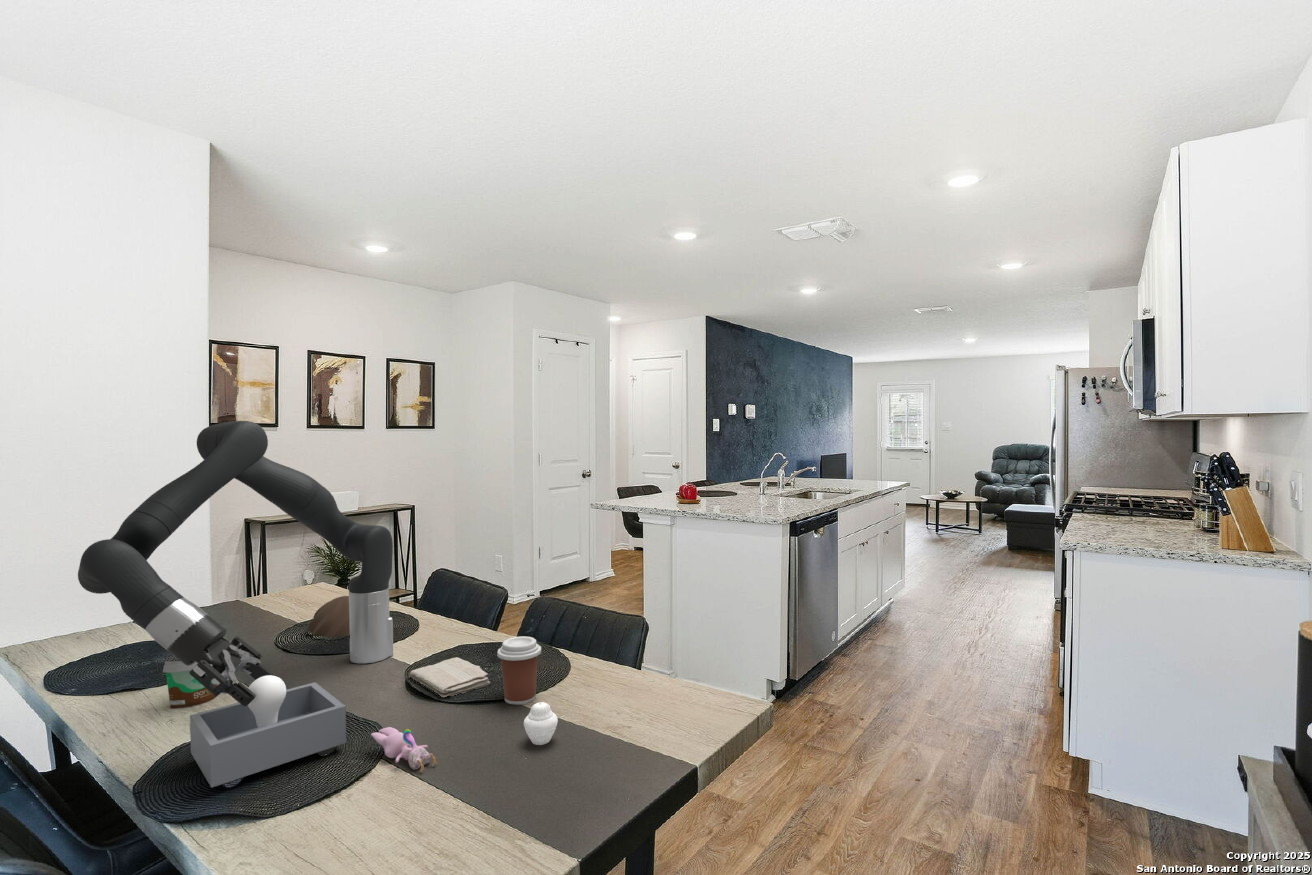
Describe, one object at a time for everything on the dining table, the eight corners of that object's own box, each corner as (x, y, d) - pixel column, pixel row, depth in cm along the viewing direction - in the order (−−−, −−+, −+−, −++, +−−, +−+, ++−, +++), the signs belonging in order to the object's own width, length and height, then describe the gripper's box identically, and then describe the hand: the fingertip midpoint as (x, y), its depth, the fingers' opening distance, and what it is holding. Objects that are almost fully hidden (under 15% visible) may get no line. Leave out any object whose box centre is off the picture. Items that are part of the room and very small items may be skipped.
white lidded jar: (542, 752, 113) (541, 712, 113) (516, 743, 116) (515, 705, 116) (565, 737, 118) (564, 699, 118) (539, 730, 122) (539, 693, 122)
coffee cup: (550, 693, 139) (549, 637, 139) (525, 710, 130) (524, 650, 130) (516, 687, 143) (515, 632, 142) (488, 702, 134) (487, 645, 134)
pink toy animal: (443, 769, 111) (390, 734, 119) (446, 736, 110) (393, 703, 118) (412, 786, 105) (358, 748, 114) (415, 751, 105) (361, 716, 113)
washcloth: (444, 702, 136) (444, 687, 136) (406, 680, 149) (406, 666, 149) (494, 685, 145) (494, 672, 145) (454, 666, 157) (454, 653, 157)
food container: (188, 713, 131) (187, 664, 131) (163, 711, 133) (162, 662, 132) (239, 689, 143) (238, 644, 143) (215, 687, 145) (214, 643, 145)
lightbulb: (296, 733, 115) (293, 671, 115) (265, 749, 109) (262, 684, 109) (270, 729, 117) (268, 668, 117) (238, 745, 111) (236, 681, 111)
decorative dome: (292, 642, 177) (291, 605, 177) (329, 621, 197) (329, 588, 196) (363, 641, 176) (362, 604, 176) (393, 620, 196) (392, 587, 196)
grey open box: (316, 723, 126) (315, 682, 126) (346, 751, 115) (345, 705, 115) (190, 761, 112) (189, 714, 112) (211, 797, 100) (210, 745, 100)
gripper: (181, 626, 104) (261, 691, 106) (222, 603, 118) (292, 661, 120) (145, 662, 103) (226, 726, 105) (190, 634, 117) (261, 692, 119)
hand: (261, 691), depth 113 cm, fingers open, 8 cm apart
